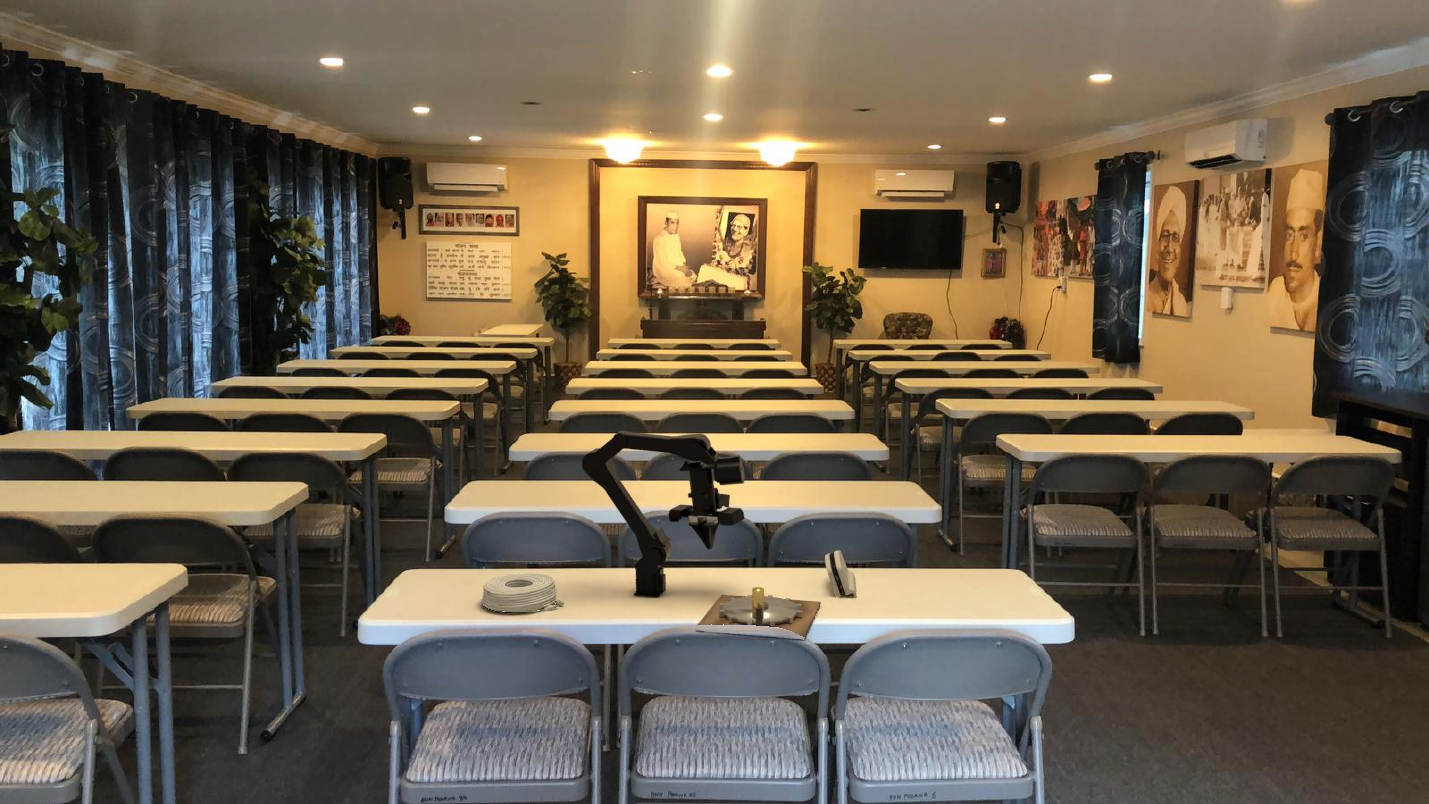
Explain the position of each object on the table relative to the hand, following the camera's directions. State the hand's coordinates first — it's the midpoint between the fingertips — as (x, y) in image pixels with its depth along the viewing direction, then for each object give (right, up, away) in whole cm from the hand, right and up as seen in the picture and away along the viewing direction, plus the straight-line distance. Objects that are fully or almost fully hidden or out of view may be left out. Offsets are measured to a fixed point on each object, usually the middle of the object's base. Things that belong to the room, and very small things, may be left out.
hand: (709, 548), depth 258 cm
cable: (-45, -13, -5) cm, 47 cm away
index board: (+12, -14, -16) cm, 24 cm away
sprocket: (+12, -12, -16) cm, 23 cm away
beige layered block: (+32, -11, +7) cm, 35 cm away
